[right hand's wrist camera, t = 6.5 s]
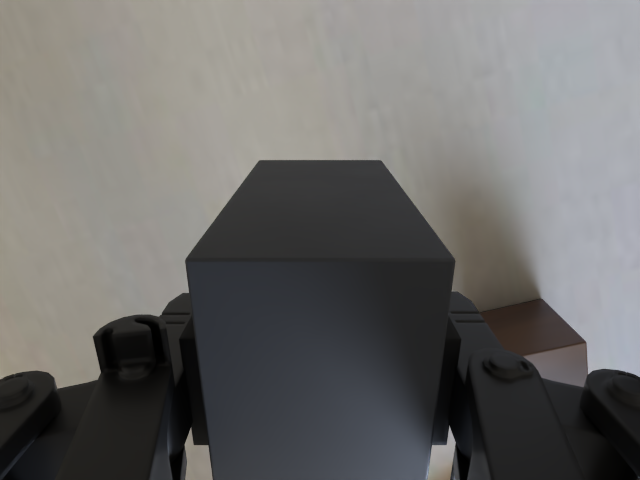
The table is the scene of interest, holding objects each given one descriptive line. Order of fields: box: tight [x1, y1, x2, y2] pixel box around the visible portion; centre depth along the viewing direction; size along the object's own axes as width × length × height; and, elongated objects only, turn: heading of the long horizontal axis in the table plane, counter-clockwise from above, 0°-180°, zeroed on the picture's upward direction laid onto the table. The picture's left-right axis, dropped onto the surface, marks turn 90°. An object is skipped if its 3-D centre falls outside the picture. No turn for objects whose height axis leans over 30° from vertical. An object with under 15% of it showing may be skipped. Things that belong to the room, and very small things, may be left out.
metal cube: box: [479, 299, 588, 387], centre depth 27 cm, size 5×5×5 cm
